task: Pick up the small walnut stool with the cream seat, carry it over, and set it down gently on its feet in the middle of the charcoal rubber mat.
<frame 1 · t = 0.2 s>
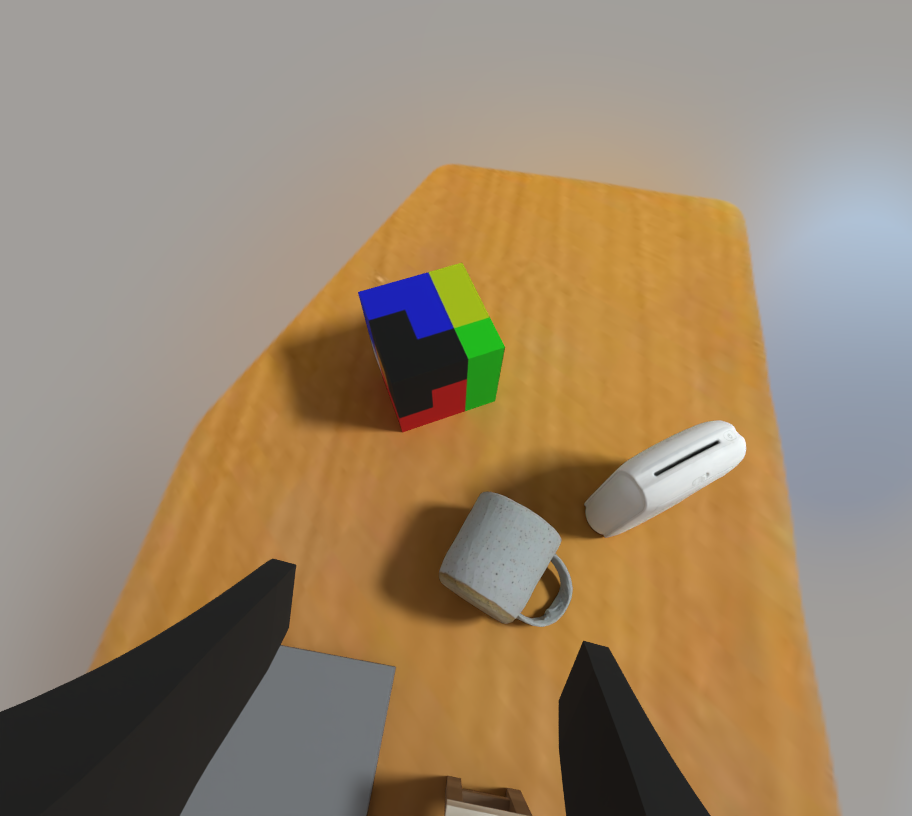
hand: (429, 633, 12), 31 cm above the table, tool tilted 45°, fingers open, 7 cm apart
puzzle toy: (433, 377, 50), on the table
mat: (283, 754, 35), on the table
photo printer: (633, 500, 45), on the table
ceramic mug: (508, 569, 42), on the table
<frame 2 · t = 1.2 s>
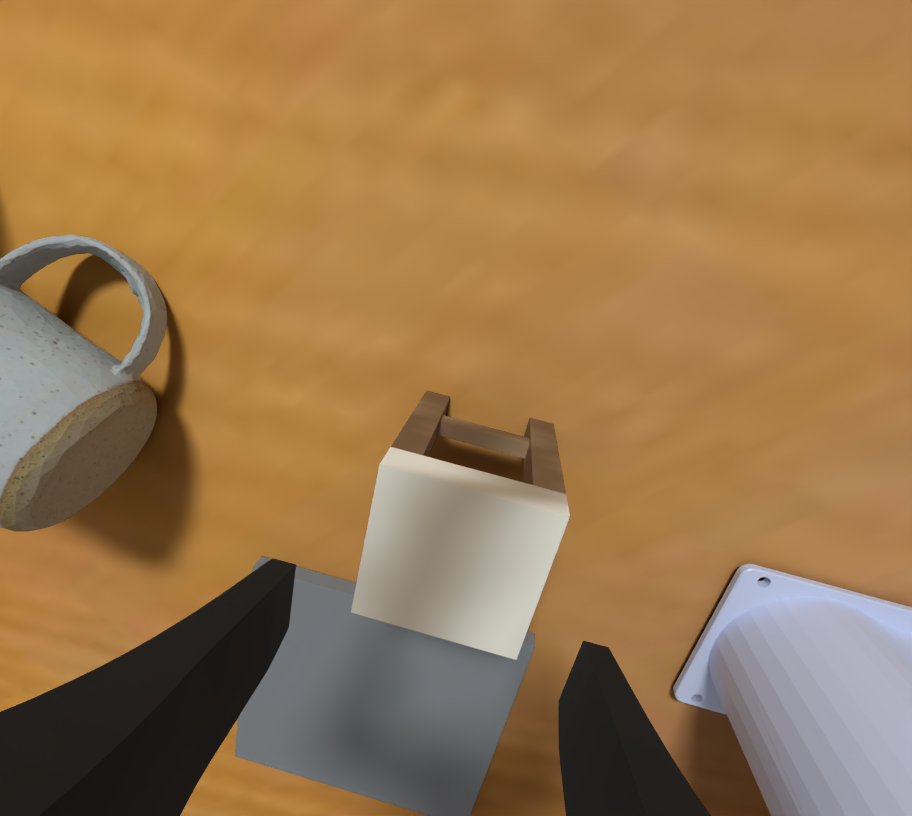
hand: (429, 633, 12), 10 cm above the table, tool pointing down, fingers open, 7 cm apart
mat: (372, 694, 26), on the table
stool: (474, 464, 21), on the table
ceramic mug: (95, 351, 21), on the table
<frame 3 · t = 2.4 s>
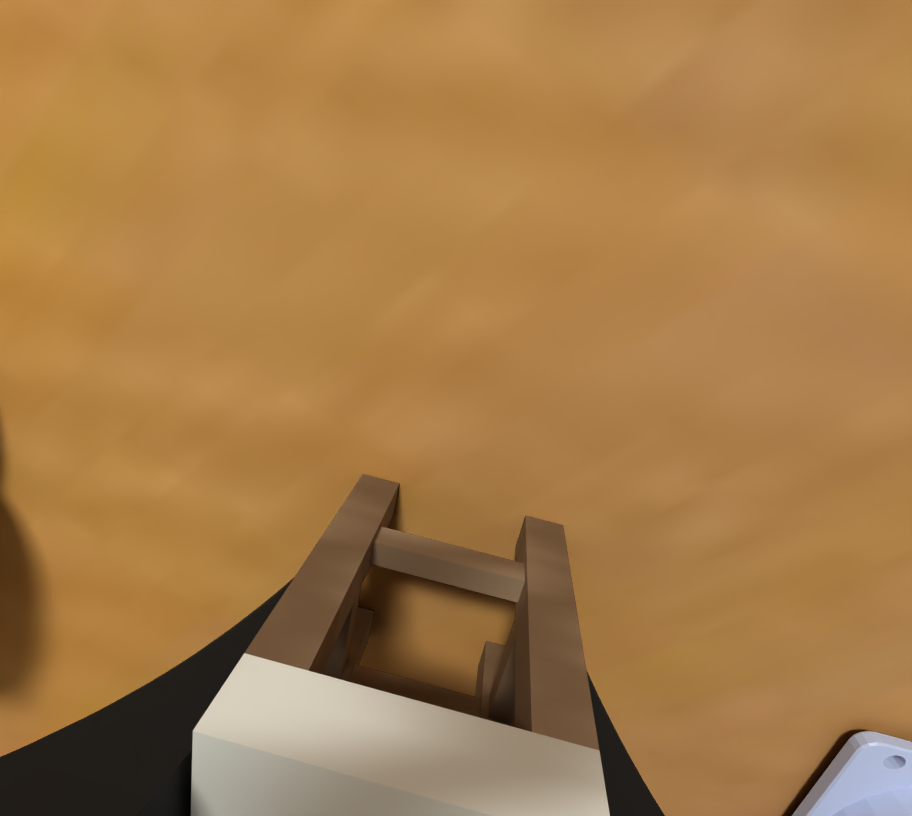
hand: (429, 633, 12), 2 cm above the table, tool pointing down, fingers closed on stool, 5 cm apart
stool: (441, 580, 13), on the table, touching gripper
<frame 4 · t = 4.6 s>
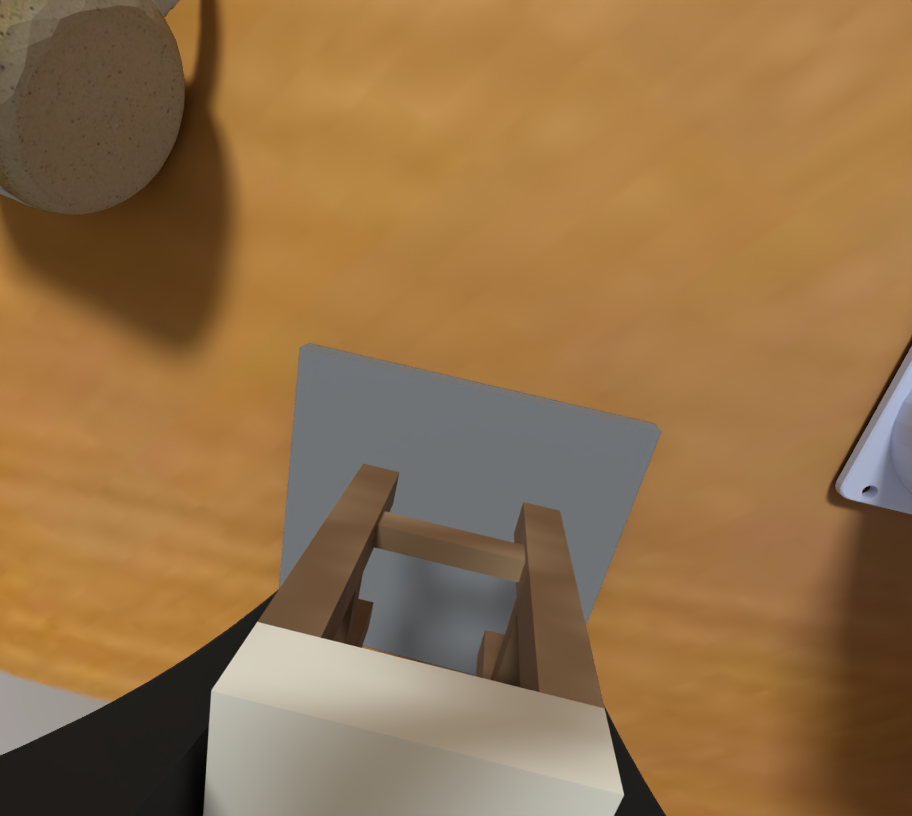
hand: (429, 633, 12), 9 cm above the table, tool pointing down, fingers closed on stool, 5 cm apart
mat: (444, 529, 21), on the table
stool: (440, 569, 14), point 7 cm above the table, touching gripper
ceramic mug: (102, 32, 16), on the table
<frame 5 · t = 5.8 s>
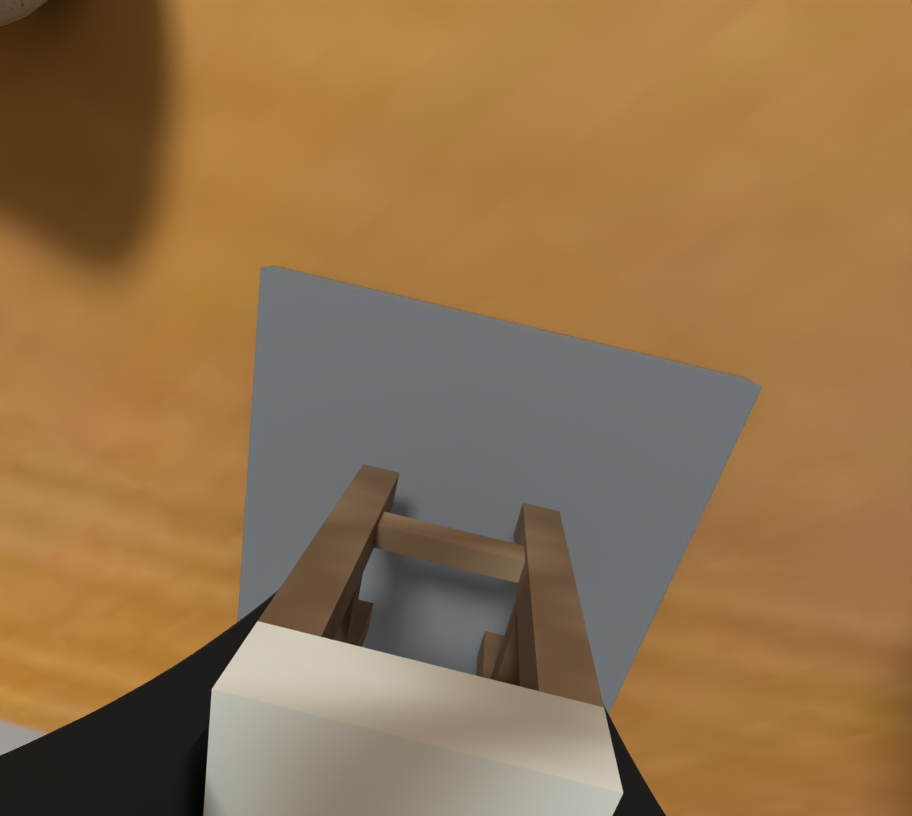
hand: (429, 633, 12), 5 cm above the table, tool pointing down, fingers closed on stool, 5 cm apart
mat: (455, 522, 16), on the table
stool: (440, 570, 14), point 3 cm above the table, touching gripper
when the fingers open (4 cm above the table, at t = 6.7 s): stool stays where it is, resting on mat.
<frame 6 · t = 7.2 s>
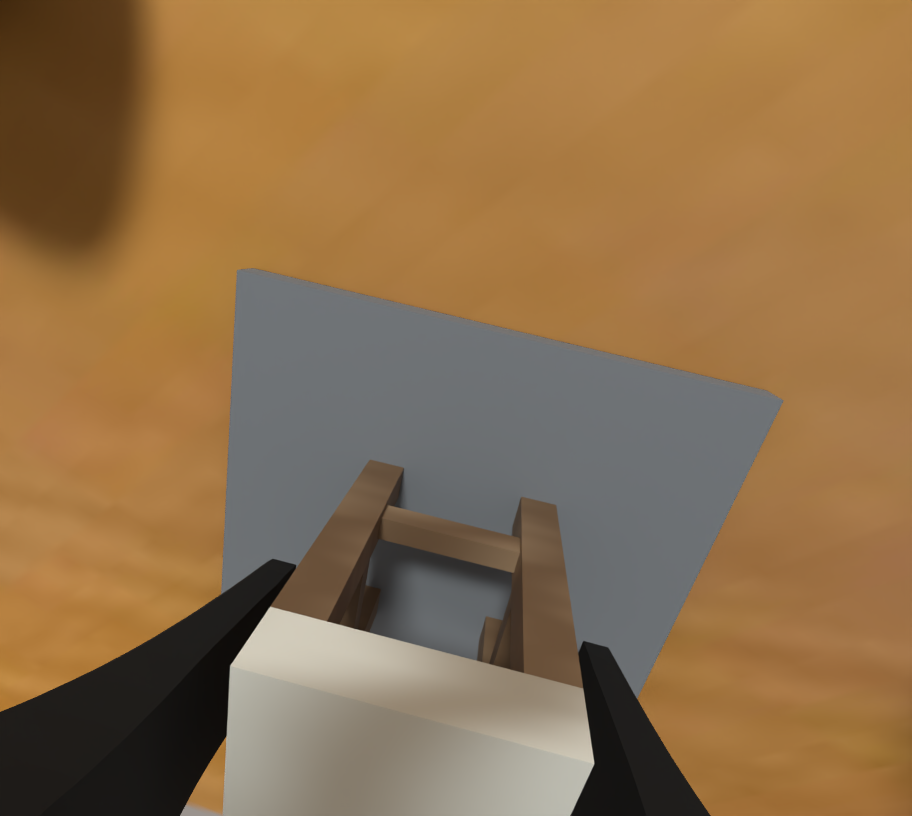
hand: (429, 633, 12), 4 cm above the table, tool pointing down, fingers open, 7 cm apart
mat: (450, 542, 15), on the table
stool: (443, 559, 14), point 1 cm above the table, touching mat
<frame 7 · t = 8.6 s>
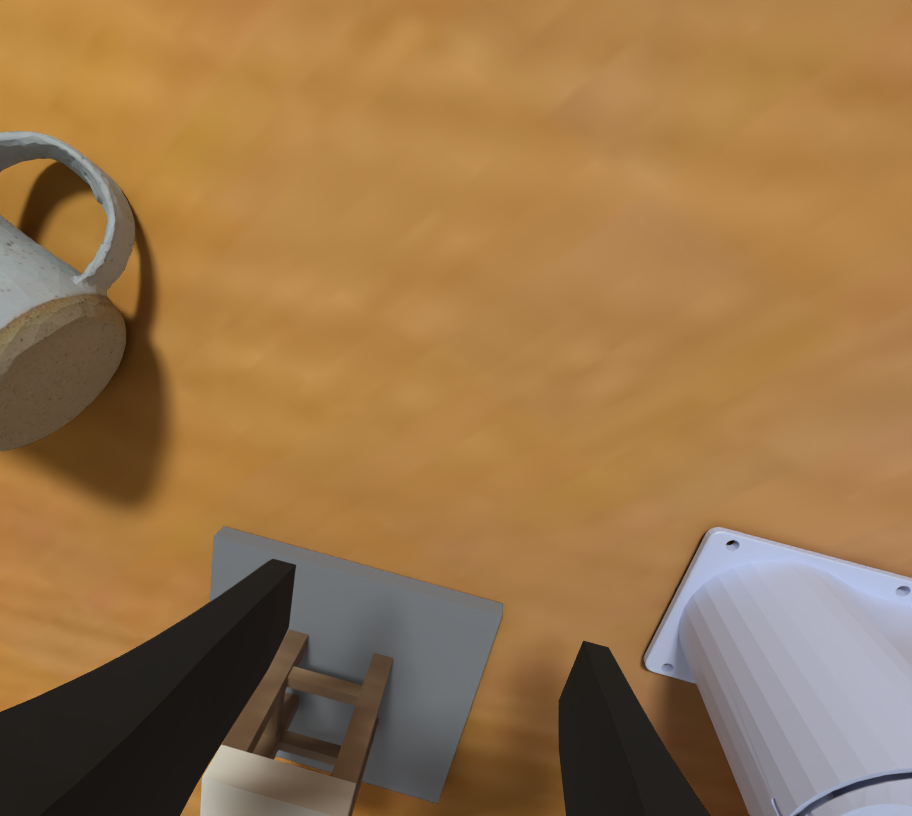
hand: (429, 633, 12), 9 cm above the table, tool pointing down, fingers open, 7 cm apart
mat: (341, 668, 25), on the table
stool: (334, 682, 25), point 1 cm above the table, touching mat
ceramic mug: (60, 273, 20), on the table
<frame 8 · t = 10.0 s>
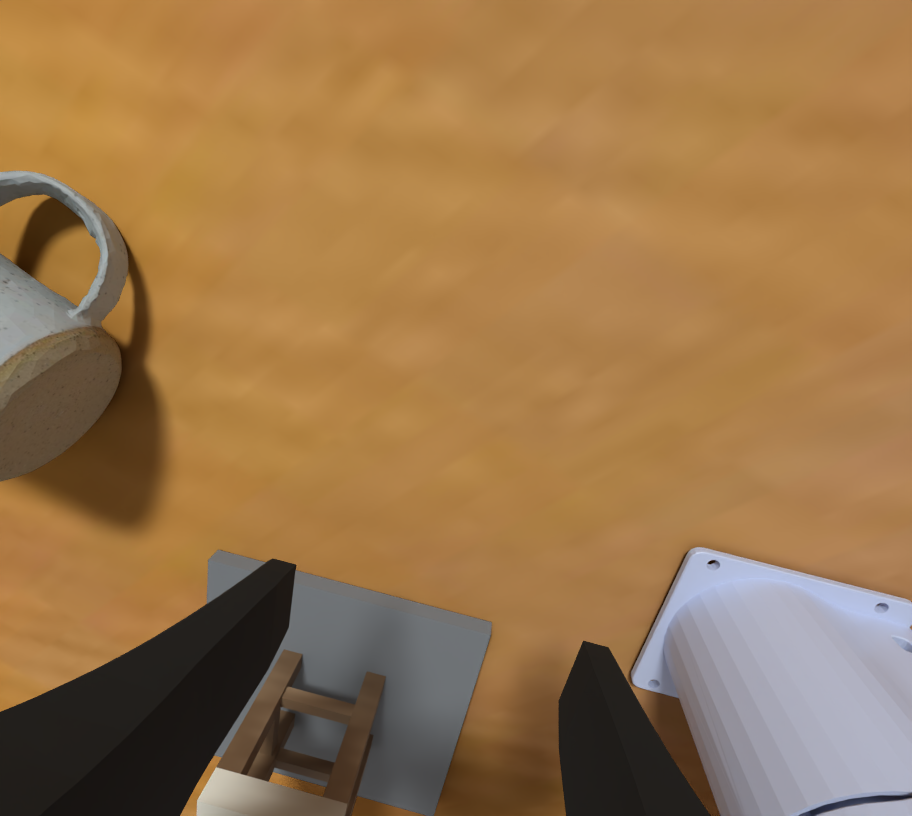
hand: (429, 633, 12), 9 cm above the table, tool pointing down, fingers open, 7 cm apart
mat: (335, 686, 26), on the table
stool: (328, 699, 25), point 1 cm above the table, touching mat
ceramic mug: (57, 303, 21), on the table
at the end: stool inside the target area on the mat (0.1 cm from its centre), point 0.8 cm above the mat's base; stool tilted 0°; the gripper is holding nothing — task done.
